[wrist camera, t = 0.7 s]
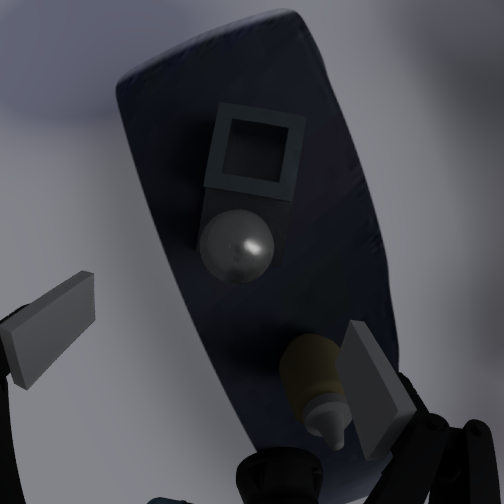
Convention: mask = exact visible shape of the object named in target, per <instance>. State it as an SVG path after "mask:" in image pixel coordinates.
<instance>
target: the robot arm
mask: <svg viewBox="0 0 504 504" xmlns="http://www.w3.org/2000/svg"><path fill="white" fill-rule="evenodd" d="M94 321H95V304H94V273H90V272H86V271H80V272H79V273H77V274H76V275H74V276H72V277H71V278H69V279H68V280H66V281H64V282H63V283H61V284H60V285H58V286H57V287H55V288H53V289H52V290H51V291H49V292H47V293H46V294H44V295H43V296H41V297H40V298H38V299H37V300H35V301H34V302H32V303H30V304H27V305H24V306H21V307H20V308H18V309H17V310H15V311H14V312H12V313H11V314H9V316H6V317H5V318H3V319H2V320H0V504H26V502H25V499H24V495H23V491H22V487H21V483H20V478H19V474H18V469H17V464H16V459H15V453H14V447H13V440H12V431H11V423H10V412H9V397H8V382H7V379H6V376H7V375H8V374H9V373H10V372H11V375H12V378H13V381H14V384H16V385H18V386H20V387H21V388H23V389H25V390H28V389H29V388H30V387H31V386H32V385H33V383H34V382H35V381H36V380H37V379H38V378H39V377H40V376H41V375H42V374H43V373H44V372H45V371H46V369H48V368H49V366H50V365H51V364H52V363H53V362H54V361H55V360H56V359H57V358H58V357H59V356H60V355H61V354H62V353H63V352H64V351H65V350H66V349H67V348H68V347H69V346H70V345H71V344H72V343H73V342H74V341H75V340H76V339H77V338H78V337H79V336H80V334H81V333H83V332H84V331H85V330H86V329H87V328H88V327H89V326H90V325H91V324H92V323H93V322H94ZM335 367H336V370H337V373H338V376H339V379H340V382H341V385H342V388H343V391H344V394H345V397H346V400H347V403H348V406H349V409H350V412H351V415H352V418H353V421H354V424H355V427H356V430H357V434H358V437H359V440H360V443H361V446H362V449H363V453H364V456H365V459H366V461H373V460H384V458H385V457H386V455H387V454H388V453H389V451H390V450H391V452H392V455H393V458H392V460H391V461H390V462H389V464H388V465H387V466H386V467H385V469H384V470H383V471H382V472H381V474H382V476H381V477H380V479H379V481H378V482H377V484H376V485H375V487H374V488H373V490H372V492H371V493H370V495H369V496H368V498H367V499H366V501H365V502H364V503H363V504H424V502H425V500H426V498H427V495H428V493H429V490H430V495H429V502H428V504H501V500H500V489H499V488H500V487H499V478H498V470H497V463H496V457H495V451H494V444H493V439H492V434H491V431H490V428H489V427H488V426H487V425H486V424H485V423H484V422H482V421H479V420H475V419H472V420H469V421H468V422H467V423H466V424H465V426H464V427H463V429H461V428H454V427H450V426H449V424H448V422H447V421H446V420H445V419H444V418H443V417H441V416H439V415H437V414H434V413H429V411H428V410H427V408H426V406H425V405H424V403H423V401H422V400H421V398H420V397H419V395H418V394H417V392H416V390H415V389H414V388H413V386H412V383H411V382H410V380H409V379H408V378H407V377H406V376H404V375H403V374H402V373H400V372H395V371H394V369H393V368H392V366H391V364H390V363H389V361H388V359H387V358H386V356H385V355H384V353H383V351H382V350H381V348H380V346H379V345H378V343H377V342H376V340H375V338H374V337H373V335H372V334H371V332H370V330H369V329H368V327H367V326H366V324H365V323H364V322H362V321H354V320H350V322H349V326H348V329H347V332H346V334H345V337H344V340H343V343H342V346H341V349H340V352H339V354H338V357H337V360H336V363H335ZM322 481H323V469H322V465H321V462H320V460H319V459H318V458H317V457H316V456H315V455H313V454H312V453H310V452H308V451H305V450H301V449H296V448H273V449H267V450H263V451H260V452H257V453H255V454H252V455H250V456H248V457H247V458H245V459H244V460H243V461H242V462H241V463H240V464H239V466H238V468H237V472H236V485H237V488H238V490H239V493H240V495H241V498H242V500H243V503H244V504H319V503H318V498H319V494H320V490H321V485H322ZM147 504H192V503H187V502H186V501H184V500H182V501H178V500H172V499H167V498H162V497H158V498H154V499H152V500H151V501H149V502H148V503H147Z"/></svg>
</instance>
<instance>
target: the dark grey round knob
mask: <svg viewBox="0 0 504 504" xmlns="http://www.w3.org/2000/svg"><path fill="white" fill-rule="evenodd" d="M273 253H274V241H273V237H272V234H271V232H270V229H269V227H268V226H267V224H266V222H265V221H264V220H263V219H262V218H261V217H260V216H259V215H257V214H256V213H254V212H252V211H249V210H245V209H233V210H229V211H226V212H223V213H221V214H219V215H217V216H215V217H214V218H213V219H212V220H211V221H210V222H209V223H208V224H207V225H206V227H205V228H204V230H203V232H202V235H201V239H200V254H201V258H202V261H203V263H204V265H205V266H206V268H207V269H208V270H209V272H210V273H211V274H213V275H214V276H215V277H216V278H218V279H220V280H222V281H225V282H228V283H234V284H241V283H246V282H250V281H252V280H254V279H256V278H258V277H259V276H260V275H262V274H263V273H264V272H265V270H266V269H267V268H268V266H269V265H270V263H271V260H272V257H273Z"/></svg>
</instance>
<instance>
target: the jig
mask: <svg viewBox="0 0 504 504" xmlns="http://www.w3.org/2000/svg"><path fill="white" fill-rule="evenodd" d="M305 124H306V117H305V116H300V115H295V114H290V113H285V112H280V111H274V110H268V109H263V108H256V107H250V106H243V105H236V104H228V103H219V108H218V113H217V117H216V122H215V127H214V132H213V137H212V142H211V147H210V152H209V158H208V163H207V168H206V174H205V180H204V185H203V186H204V187H206V190H205V196H204V202H203V208H202V214H201V220H200V227H199V233H198V240H197V247H196V252H198V253H200V239H201V235H202V232H203V230H204V228H205V227H206V225H207V224H208V223H209V222H210V221H211V220H212V219H213V218H214V217H215V216H217V215H219V214H221V213H223V212H226V211H229V210H233V209H245V210H249V211H252V212H254V213H256V214H257V215H259V216H260V217H261V218H262V219H263V220H264V221H265V222H266V224H267V226H268V227H269V229H270V232H271V234H272V237H273V241H274V253H273V257H272V260H271V263H270V265H272V266H278V267H281V261H282V256H283V251H284V246H285V241H286V235H287V230H288V225H289V219H290V214H291V208H292V203H293V197H294V192H295V186H296V180H297V175H298V169H299V163H300V157H301V151H302V145H303V139H304V133H305V132H304V130H305Z"/></svg>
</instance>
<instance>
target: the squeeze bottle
mask: <svg viewBox="0 0 504 504" xmlns="http://www.w3.org/2000/svg"><path fill="white" fill-rule="evenodd" d="M339 352H340V348H339V347H338V346H337V345H336V344H335V343H334V342H333V341H331V340H329V339H327V338H324V337H322V336H320V335H317V334H314V333H306V334H302V335H300V336H297V337H296V338H294V339H293V340H292V341H291V342H290V343H289V345H288V347H287V349H286V350H285V352H284V354H283V356H282V358H281V360H280V366H279V373H280V376H281V379H282V382H283V385H284V388H285V391H286V394H287V397H288V400H289V403H290V406H291V409H292V411H293V413H294V416H295V418H296V419H297V420H298V421H300V422H301V423H302V424H304V425H305V427H306V429H307V431H308V432H310V433H311V434H313V435H316V436H321V437H323V438H324V439H325V441H326V442H327V444H328V445H329V447H330V448H331V449H332V450H339V449H341V448H342V447H343V446H344V429H345V428H346V427H347V426H348V424H349V423H350V422H351V420H352V415H351V412H350V409H349V406H348V403H347V400H346V397H345V394H344V391H343V388H342V385H341V382H340V379H339V376H338V373H337V370H336V367H335V363H336V360H337V357H338V354H339Z"/></svg>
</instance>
